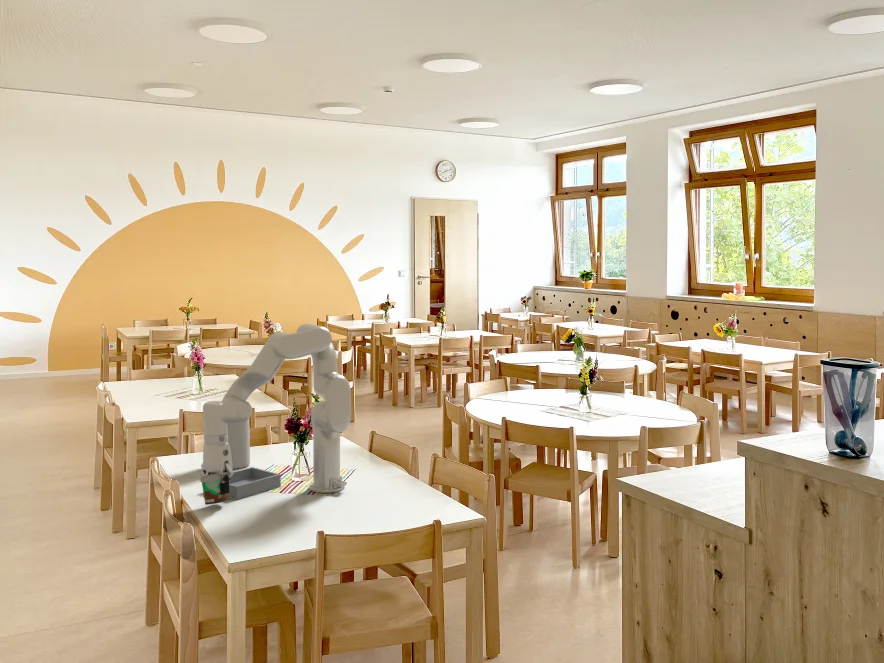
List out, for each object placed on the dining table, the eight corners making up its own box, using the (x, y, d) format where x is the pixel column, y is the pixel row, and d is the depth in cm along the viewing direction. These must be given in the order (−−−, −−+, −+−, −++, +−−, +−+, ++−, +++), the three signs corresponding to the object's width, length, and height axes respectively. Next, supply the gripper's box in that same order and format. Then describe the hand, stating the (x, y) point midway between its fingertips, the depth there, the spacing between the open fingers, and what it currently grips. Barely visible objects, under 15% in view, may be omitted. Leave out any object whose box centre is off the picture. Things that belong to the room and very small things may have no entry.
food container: (219, 506, 255) (216, 476, 254) (202, 506, 256) (199, 476, 255) (238, 494, 266) (236, 465, 266) (222, 494, 268) (219, 465, 267)
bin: (280, 486, 285) (280, 474, 285) (236, 499, 269) (236, 486, 269) (252, 478, 294) (252, 466, 294) (208, 490, 279) (208, 478, 278)
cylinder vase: (256, 464, 314) (255, 402, 312) (232, 471, 304) (231, 407, 301) (235, 459, 321) (234, 399, 318) (210, 466, 311) (209, 403, 308)
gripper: (242, 440, 257) (244, 493, 259) (209, 432, 267) (211, 484, 269) (223, 445, 251) (225, 499, 253) (190, 437, 262) (192, 489, 264)
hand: (218, 491), depth 261 cm, fingers closed on food container, 6 cm apart
